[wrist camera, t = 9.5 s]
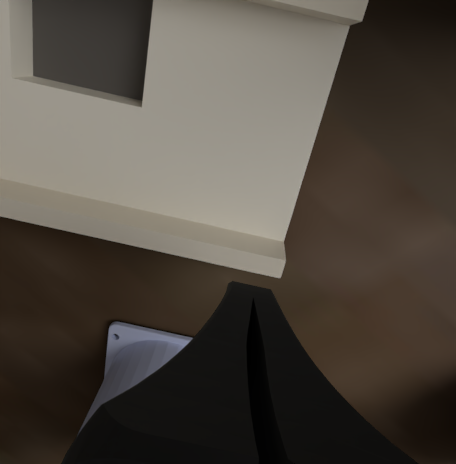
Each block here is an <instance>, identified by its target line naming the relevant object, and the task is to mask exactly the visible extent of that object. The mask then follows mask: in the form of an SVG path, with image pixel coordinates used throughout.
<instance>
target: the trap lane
mask: <svg viewBox="0 0 456 464" xmlns="http://www.w3.org/2000/svg"><path fill="white" fill-rule="evenodd" d="M368 1H369V0H0V216H1V217H5V218H10V219H15V220H19V221H24V222H28V223H33V224H37V225H42V226H46V227H51V228H55V229H60V230H64V231H69V232H73V233H78V234H82V235H87V236H91V237H96V238H100V239H105V240H109V241H114V242H118V243H123V244H127V245H132V246H136V247H141V248H145V249H150V250H154V251H159V252H163V253H168V254H172V255H177V256H182V257H186V258H191V259H195V260H200V261H204V262H209V263H213V264H218V265H222V266H227V267H231V268H236V269H240V270H245V271H249V272H254V273H258V274H263V275H267V276H272V277H276V278H281V275H282V272H283V269H284V265H285V262H286V256H285V249H284V239H285V236H286V232H287V229H288V226H289V223H290V219H291V216H292V213H293V210H294V206H295V203H296V200H297V197H298V193H299V190H300V187H301V183H302V180H303V177H304V174H305V170H306V167H307V164H308V161H309V157H310V154H311V151H312V148H313V144H314V141H315V138H316V135H317V131H318V128H319V125H320V122H321V118H322V115H323V112H324V109H325V105H326V102H327V99H328V96H329V92H330V89H331V86H332V82H333V79H334V76H335V73H336V69H337V66H338V63H339V60H340V56H341V53H342V50H343V47H344V43H345V40H346V37H347V34H348V30H349V27H350V25H353V24H356V23H359V22H362V20H363V17H364V14H365V10H366V7H367V4H368Z"/></svg>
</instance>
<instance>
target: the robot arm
mask: <svg viewBox="0 0 456 464" xmlns="http://www.w3.org/2000/svg"><path fill="white" fill-rule="evenodd" d="M114 334H117V335H118V336H116V335H114ZM61 464H418V463H417V462H415V461H414V460H413V459H412V458H410V457H409V456H408V455H407V454H405V453H404V452H403V451H401V450H400V449H399V448H398V447H396V446H395V445H394V444H392V443H391V442H390V441H389V440H388V439H387V438H385V437H384V436H383V435H382V434H381V433H380V432H379V431H378V430H376V429H375V428H374V427H373V426H372V425H371V424H370V423H369V422H367V421H366V420H365V419H364V418H363V417H362V416H361V415H360V414H359V413H358V412H357V411H356V410H355V409H354V408H353V407H352V406H351V405H350V404H349V403H348V402H347V401H346V400H345V399H344V398H343V397H342V396H341V395H340V393H339V392H338V391H337V390H336V389H335V388H334V387H333V386H332V385H331V383H330V382H329V381H328V380H327V379H326V377H325V376H324V375H323V374H322V372H321V371H320V370H319V369H318V368H317V366H316V365H315V364H314V362H313V361H312V360H311V358H310V357H309V356H308V354H307V353H306V351H305V350H304V348H303V347H302V345H301V344H300V342H299V340H298V339H297V337H296V335H295V334H294V332H293V330H292V329H291V327H290V325H289V323H288V322H287V320H286V318H285V316H284V314H283V312H282V310H281V308H280V306H279V304H278V302H277V300H276V298H275V296H274V294H273V292H272V291H271V290H270V289H266V288H261V287H257V286H252V285H248V284H243V283H239V282H234V281H232V282H230V283H228V287H227V291H226V293H225V295H224V297H223V299H222V301H221V303H220V304H219V306H218V307H217V309H216V310H215V312H214V313H213V315H212V316H211V318H210V319H209V320H208V321H207V323H206V324H205V325H204V326H203V327H202V329H201V330H200V331H199V332H198V333H197V335H196V336H195V337H194V338H191V337H187V336H182V335H177V334H173V333H168V332H164V331H159V330H154V329H150V328H145V327H141V326H136V325H131V324H127V323H122V322H113V323H112V324H111V325H110V327H109V331H108V342H107V352H106V363H105V374H104V381H103V383H102V385H101V387H100V389H99V391H98V393H97V395H96V397H95V399H94V401H93V404H92V406H91V408H90V410H89V412H88V414H87V416H86V418H85V420H84V422H83V424H82V426H81V428H80V431H79V433H78V435H77V437H76V439H75V440H74V442H73V443H72V445H71V446H70V448H69V450H68V451H67V453H66V455H65V457H64V459H63V461H62V463H61Z"/></svg>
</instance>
